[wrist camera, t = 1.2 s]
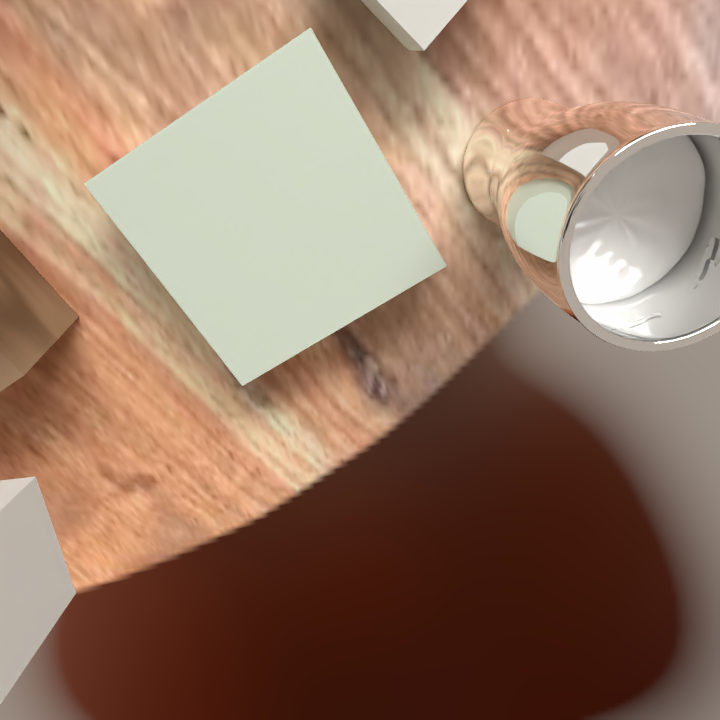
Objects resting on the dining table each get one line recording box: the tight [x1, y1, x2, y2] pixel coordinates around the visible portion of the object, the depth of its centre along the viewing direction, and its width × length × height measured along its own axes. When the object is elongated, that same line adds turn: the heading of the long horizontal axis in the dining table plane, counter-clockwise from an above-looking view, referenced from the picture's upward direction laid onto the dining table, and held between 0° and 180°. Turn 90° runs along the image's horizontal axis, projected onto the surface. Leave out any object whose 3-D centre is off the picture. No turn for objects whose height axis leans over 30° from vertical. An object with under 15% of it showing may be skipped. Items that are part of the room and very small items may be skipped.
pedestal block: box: [84, 27, 446, 386], centre depth 30 cm, size 11×11×5 cm
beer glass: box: [463, 98, 720, 352], centre depth 25 cm, size 7×7×15 cm
